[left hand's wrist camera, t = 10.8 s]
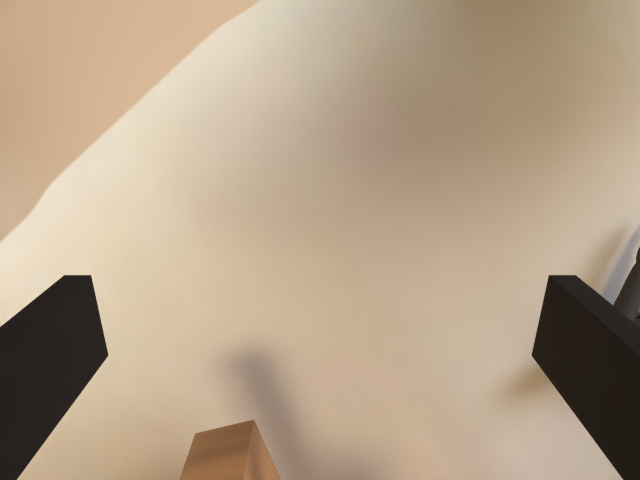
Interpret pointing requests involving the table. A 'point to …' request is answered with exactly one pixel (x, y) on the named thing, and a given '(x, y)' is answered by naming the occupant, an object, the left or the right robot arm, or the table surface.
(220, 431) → the bar
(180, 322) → the table surface
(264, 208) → the table surface
